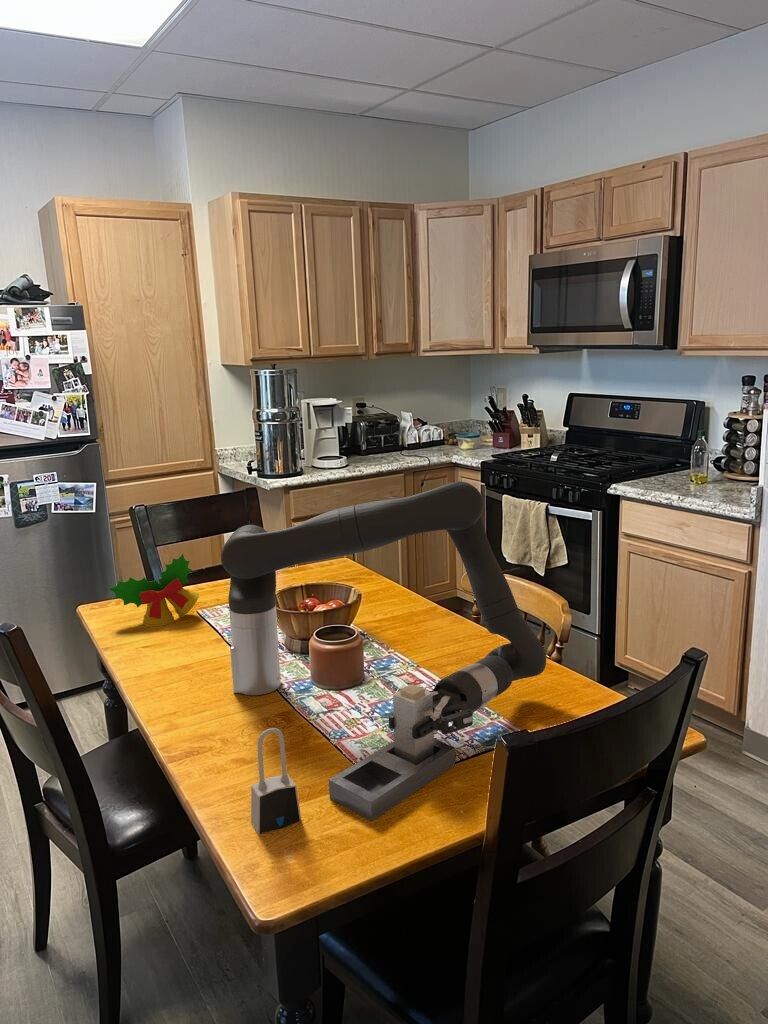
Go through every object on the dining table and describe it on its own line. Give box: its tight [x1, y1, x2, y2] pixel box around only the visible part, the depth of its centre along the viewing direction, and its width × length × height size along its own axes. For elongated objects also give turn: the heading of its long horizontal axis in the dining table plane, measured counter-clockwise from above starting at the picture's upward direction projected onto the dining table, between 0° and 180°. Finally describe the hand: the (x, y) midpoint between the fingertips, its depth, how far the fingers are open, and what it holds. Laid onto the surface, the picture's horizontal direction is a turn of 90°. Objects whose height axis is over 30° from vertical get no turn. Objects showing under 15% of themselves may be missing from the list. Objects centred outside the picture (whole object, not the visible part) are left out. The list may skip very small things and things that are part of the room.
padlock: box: [250, 727, 302, 835], centre depth 114 cm, size 7×4×15 cm, turn 117°
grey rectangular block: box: [392, 683, 434, 765], centre depth 126 cm, size 4×4×13 cm
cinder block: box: [328, 737, 456, 822], centre depth 124 cm, size 20×9×3 cm, turn 137°
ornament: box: [108, 553, 200, 628], centre depth 196 cm, size 21×8×15 cm, turn 108°
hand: (402, 728), depth 124 cm, fingers closed on grey rectangular block, 4 cm apart
